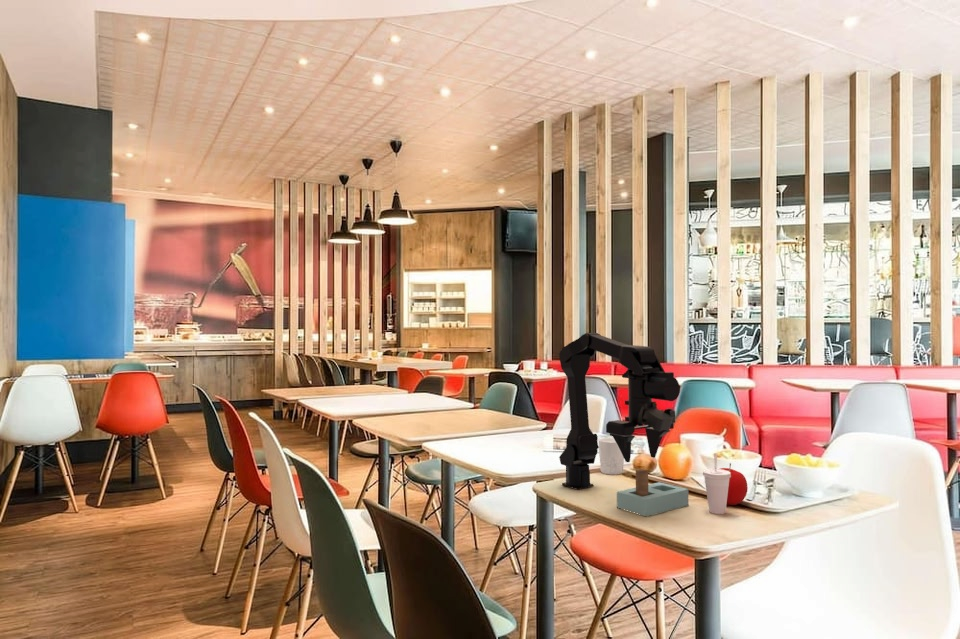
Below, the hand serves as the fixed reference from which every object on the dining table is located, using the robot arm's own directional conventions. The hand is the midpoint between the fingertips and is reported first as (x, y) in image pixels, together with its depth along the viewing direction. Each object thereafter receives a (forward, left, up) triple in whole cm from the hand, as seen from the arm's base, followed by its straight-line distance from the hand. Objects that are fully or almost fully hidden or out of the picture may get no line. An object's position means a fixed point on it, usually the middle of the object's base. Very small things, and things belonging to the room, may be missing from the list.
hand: (640, 459), depth 155 cm
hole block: (+2, +2, -12) cm, 12 cm away
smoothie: (+14, +11, -12) cm, 21 cm away
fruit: (+11, +20, -12) cm, 26 cm away
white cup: (-30, +21, -12) cm, 39 cm away
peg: (+2, -2, -12) cm, 12 cm away
